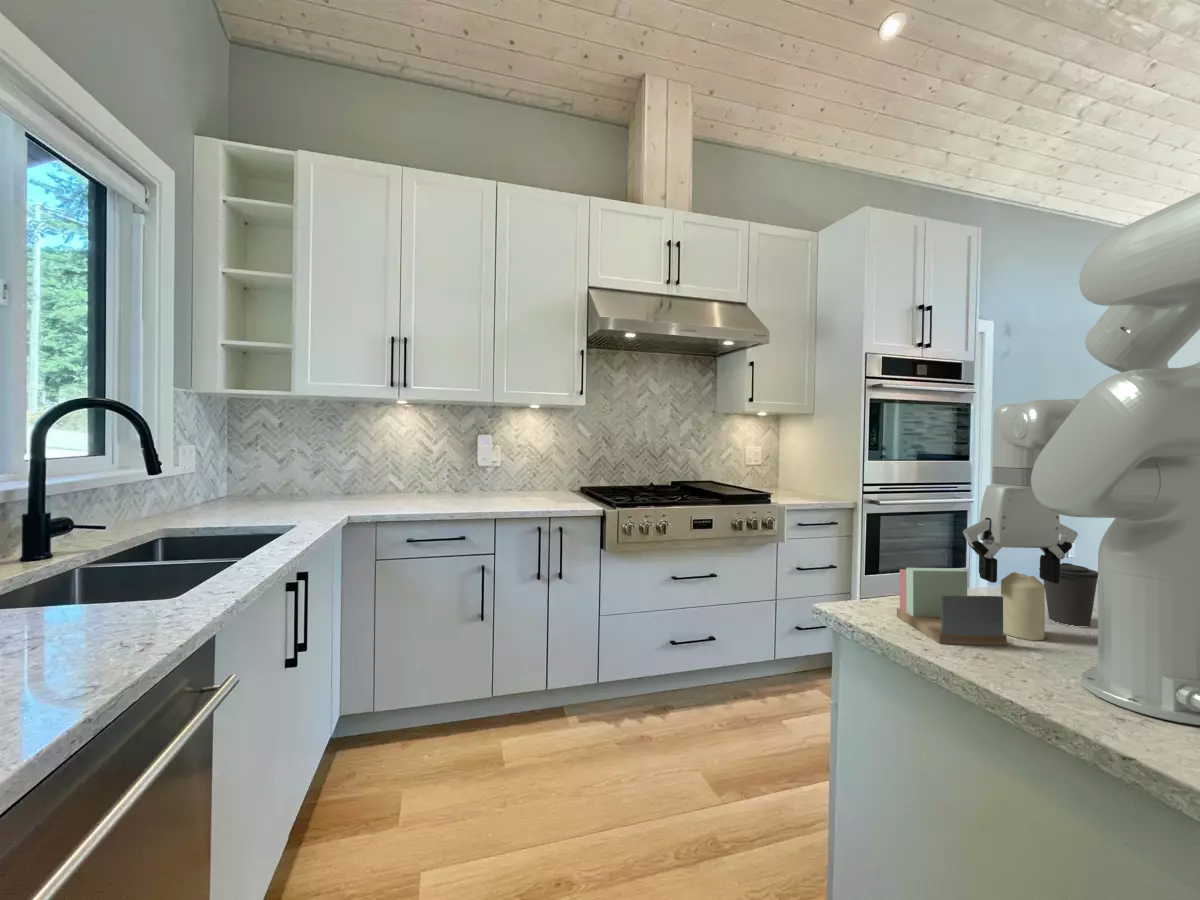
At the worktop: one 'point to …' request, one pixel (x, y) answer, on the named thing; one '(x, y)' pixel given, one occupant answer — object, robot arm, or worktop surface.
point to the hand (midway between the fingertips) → (1018, 580)
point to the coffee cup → (1072, 595)
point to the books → (929, 589)
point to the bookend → (972, 615)
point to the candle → (1023, 606)
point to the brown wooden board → (933, 630)
